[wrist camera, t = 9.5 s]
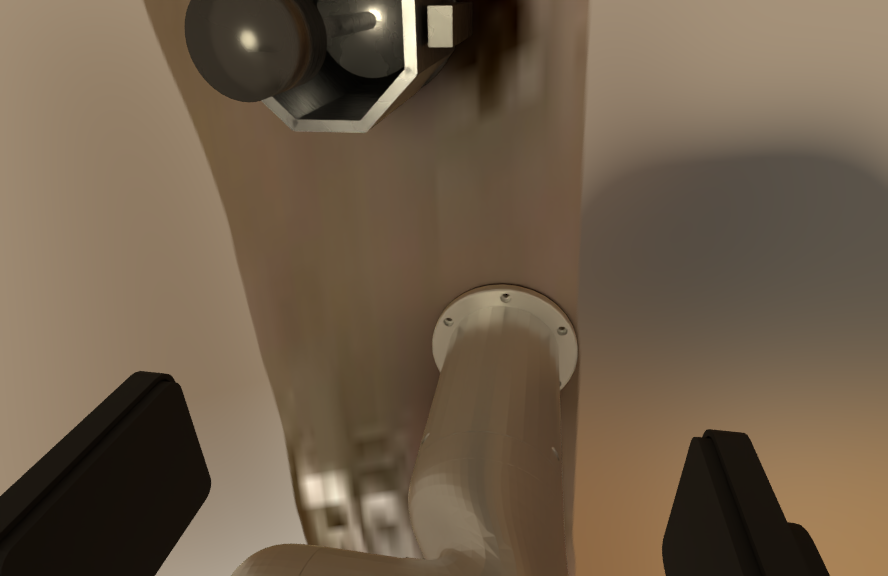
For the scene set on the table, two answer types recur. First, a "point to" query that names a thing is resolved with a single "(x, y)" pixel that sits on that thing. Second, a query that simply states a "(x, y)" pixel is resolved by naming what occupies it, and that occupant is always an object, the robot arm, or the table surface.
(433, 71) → the grey octagonal cup
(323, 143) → the table surface
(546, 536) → the robot arm
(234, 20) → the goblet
